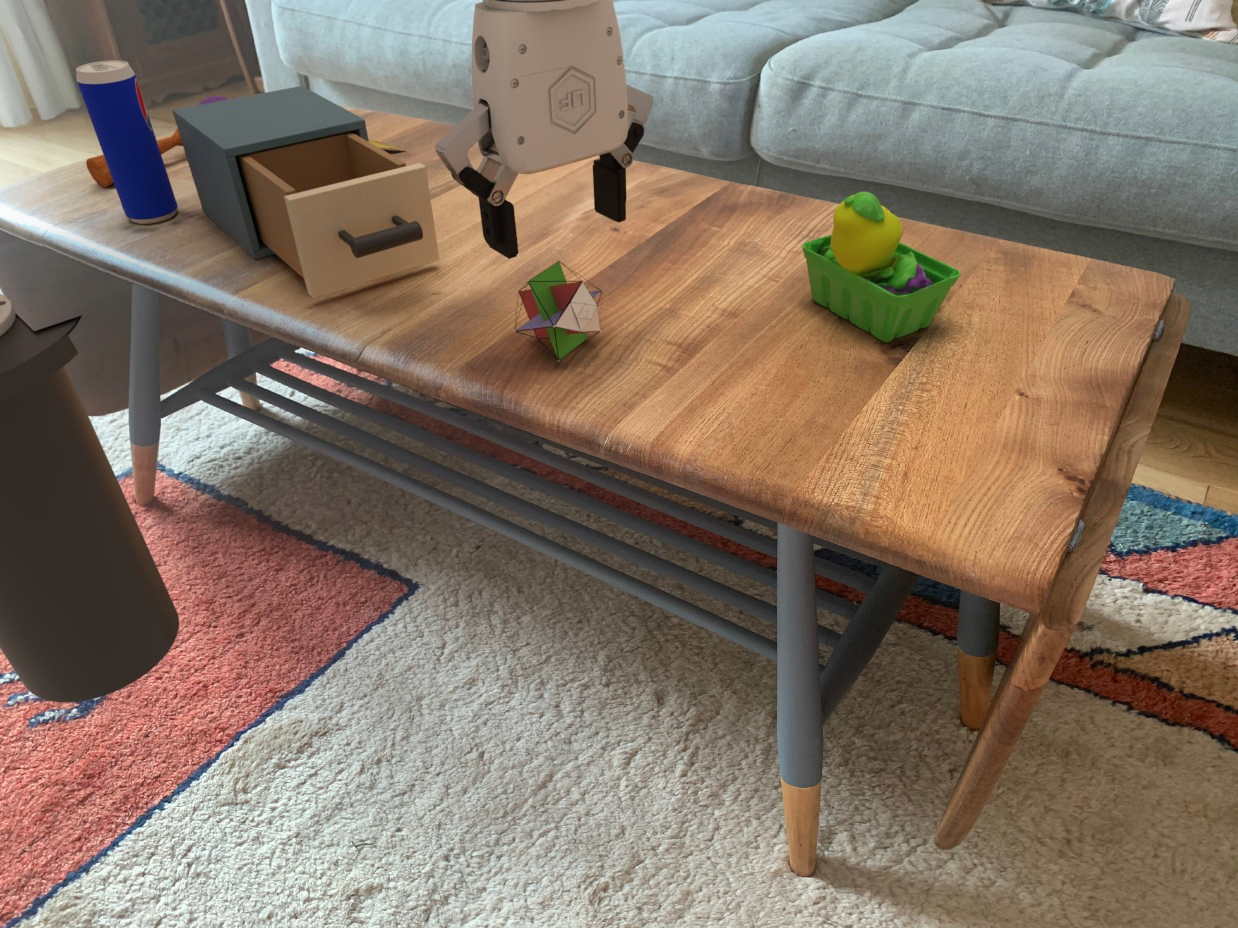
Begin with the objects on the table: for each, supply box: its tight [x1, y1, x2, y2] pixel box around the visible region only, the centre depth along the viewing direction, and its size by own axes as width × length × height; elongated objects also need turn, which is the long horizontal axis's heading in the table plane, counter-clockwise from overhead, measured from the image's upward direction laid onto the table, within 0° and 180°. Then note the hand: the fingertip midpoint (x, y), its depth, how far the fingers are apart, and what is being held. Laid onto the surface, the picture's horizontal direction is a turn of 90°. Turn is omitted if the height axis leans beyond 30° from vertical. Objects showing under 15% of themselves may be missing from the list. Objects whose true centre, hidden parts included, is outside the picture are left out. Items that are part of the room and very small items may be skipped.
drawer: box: [237, 131, 440, 299], centre depth 81 cm, size 19×12×9 cm, turn 38°
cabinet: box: [171, 85, 369, 260], centre depth 91 cm, size 16×14×11 cm
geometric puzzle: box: [513, 259, 604, 363], centre depth 70 cm, size 7×7×8 cm
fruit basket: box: [801, 191, 962, 343], centre depth 72 cm, size 11×9×11 cm
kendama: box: [85, 95, 230, 188], centre depth 107 cm, size 6×6×20 cm
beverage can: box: [75, 59, 179, 225], centre depth 91 cm, size 5×5×15 cm
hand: (558, 233), depth 66 cm, fingers open, 9 cm apart
